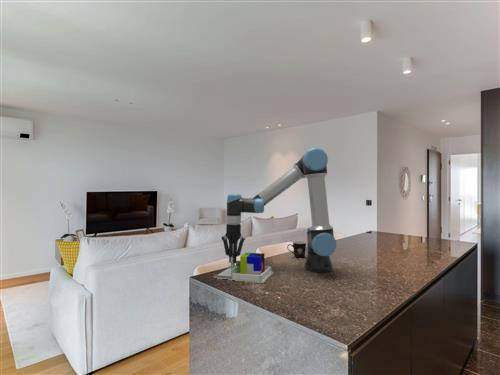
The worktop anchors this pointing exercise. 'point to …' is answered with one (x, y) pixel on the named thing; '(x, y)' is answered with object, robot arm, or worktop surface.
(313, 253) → the robot arm
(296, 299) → the worktop surface
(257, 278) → the housing
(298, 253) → the coffee mug
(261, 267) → the puzzle toy
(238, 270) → the gate
